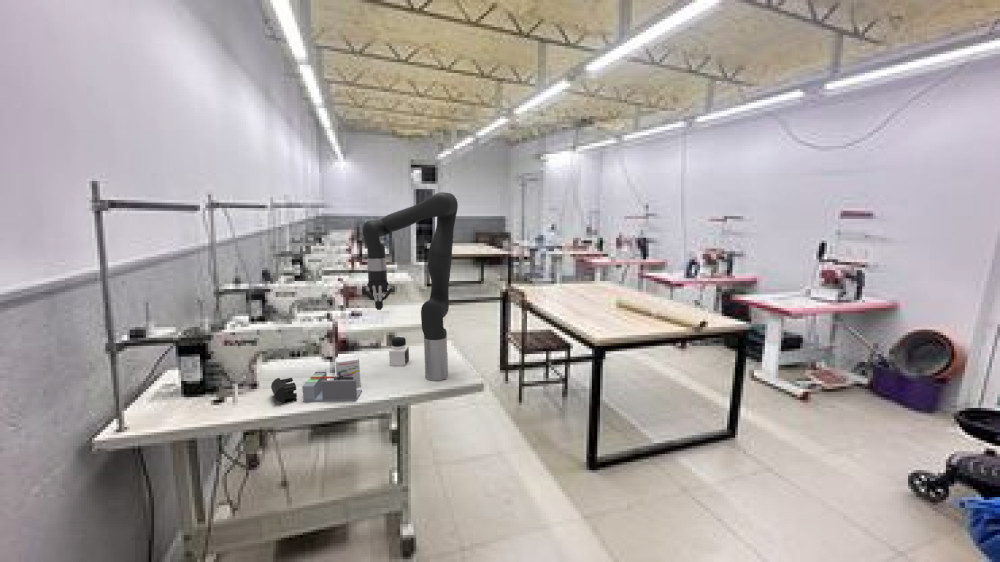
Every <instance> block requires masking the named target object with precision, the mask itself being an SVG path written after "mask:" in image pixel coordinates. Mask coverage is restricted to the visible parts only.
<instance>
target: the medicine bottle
mask: <svg viewBox="0 0 1000 562" xmlns="http://www.w3.org/2000/svg"><path fill="white" fill-rule="evenodd" d="M406 341H407V340H406V337H405V336H400V335H399V336H394V337H393V338H391V348H390V349H389V350H388V355H389V366H390V367H392V366H393V367H406V366H407V364H408V363H409V361H410V352H409V351H410V349H409V348H410V347H409V345H407V342H406Z"/></svg>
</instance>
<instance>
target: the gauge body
mask: <svg viewBox="0 0 1000 562" xmlns="http://www.w3.org/2000/svg"><path fill="white" fill-rule="evenodd" d="M327 374H328V373H327V371H315V372H314V373H313V374H312V375H311V376H310V377H309V378H308V379H307V380H306V381H305V382H304V384H302V386H301V387H302V388H301V389H302V399H303V403H321V402H322V403H324V402H325V403H326V402H327V403H328V402H329V403H330V402H332V403H333V402H357V401H358V400H359V398H360V396H361V395H362V393H363V389H357V388H358V387H357V388H356V380H334V379H311V377H321V376H328V375H327ZM358 397H359V398H358ZM356 400H357V401H356Z"/></svg>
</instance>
